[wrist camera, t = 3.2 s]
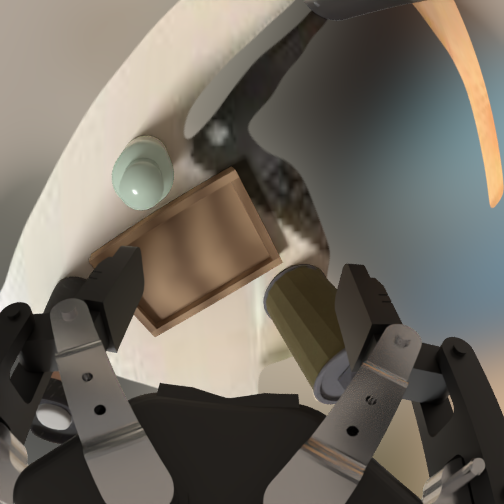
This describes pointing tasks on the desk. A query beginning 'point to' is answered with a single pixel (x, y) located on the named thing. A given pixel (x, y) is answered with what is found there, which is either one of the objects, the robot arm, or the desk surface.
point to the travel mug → (56, 383)
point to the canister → (311, 328)
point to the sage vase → (143, 173)
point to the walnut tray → (196, 251)
